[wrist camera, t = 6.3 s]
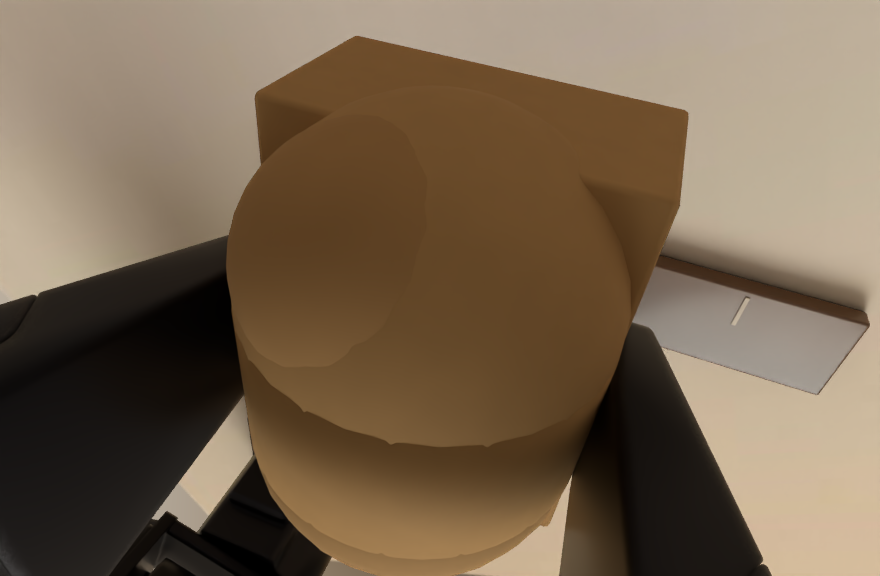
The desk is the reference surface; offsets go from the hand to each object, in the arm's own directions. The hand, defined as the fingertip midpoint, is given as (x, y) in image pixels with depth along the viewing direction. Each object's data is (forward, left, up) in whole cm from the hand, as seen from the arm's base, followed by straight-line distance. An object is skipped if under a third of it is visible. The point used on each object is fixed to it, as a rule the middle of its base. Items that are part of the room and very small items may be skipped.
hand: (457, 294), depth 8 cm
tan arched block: (0, 0, -1) cm, 1 cm away
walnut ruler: (-5, 0, -9) cm, 11 cm away
